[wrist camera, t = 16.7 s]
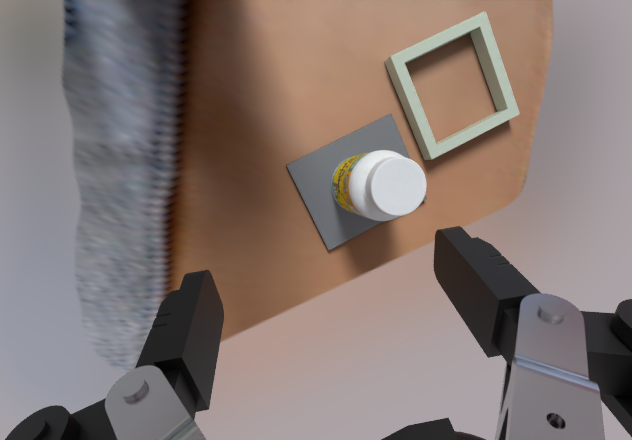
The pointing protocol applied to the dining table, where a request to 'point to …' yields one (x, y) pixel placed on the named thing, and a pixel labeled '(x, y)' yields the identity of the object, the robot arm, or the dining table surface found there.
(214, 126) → the dining table surface
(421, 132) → the pale green square frame
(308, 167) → the mat
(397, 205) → the supplement bottle
